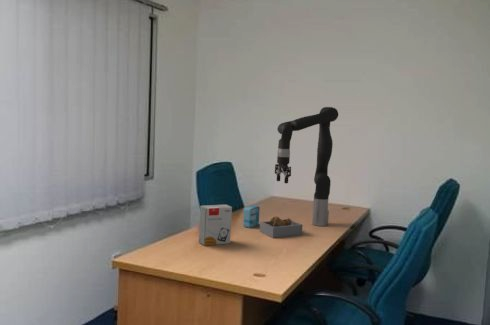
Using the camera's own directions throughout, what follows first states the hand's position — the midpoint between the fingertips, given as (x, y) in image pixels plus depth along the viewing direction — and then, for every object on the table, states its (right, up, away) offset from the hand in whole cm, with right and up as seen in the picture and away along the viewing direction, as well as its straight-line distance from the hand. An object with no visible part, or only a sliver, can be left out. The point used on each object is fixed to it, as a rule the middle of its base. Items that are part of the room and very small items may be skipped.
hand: (282, 182), depth 284 cm
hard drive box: (-39, -31, -38) cm, 62 cm away
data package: (-19, -27, +2) cm, 33 cm away
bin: (-2, -30, -12) cm, 32 cm away
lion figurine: (-4, -27, -13) cm, 31 cm away
